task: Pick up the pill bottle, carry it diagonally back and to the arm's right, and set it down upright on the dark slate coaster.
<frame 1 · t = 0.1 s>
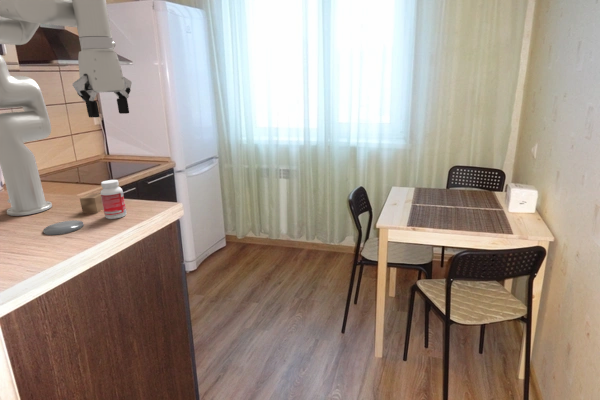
hand: (109, 115, 106), 31 cm above the countertop, fingers open, 9 cm apart
light brown wooden block: (94, 210, 131), on the countertop
pill bottle: (116, 216, 124), on the countertop
coaster: (64, 228, 115), on the countertop
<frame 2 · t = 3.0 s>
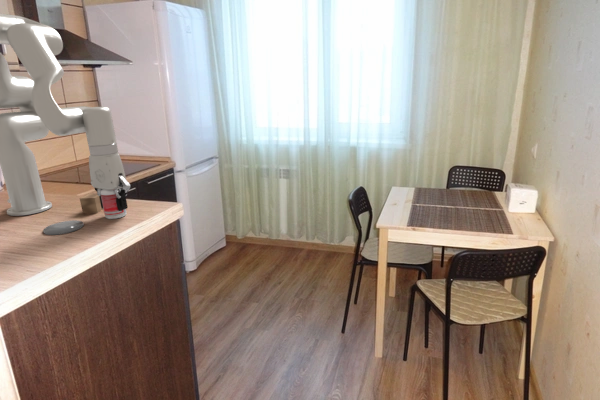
hand: (114, 207, 123), 3 cm above the countertop, fingers closed on pill bottle, 6 cm apart
pill bottle: (116, 216, 124), on the countertop, touching gripper
everything else where it was.
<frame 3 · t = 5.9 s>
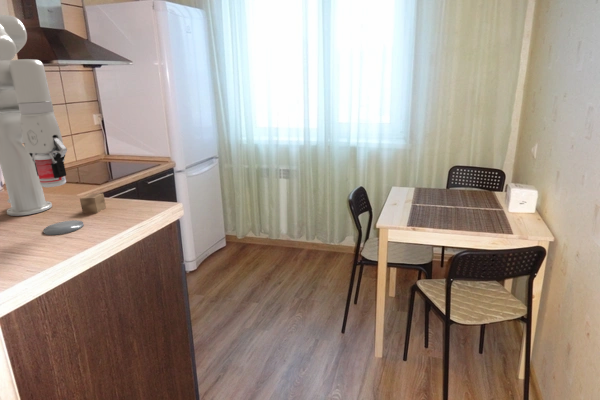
hand: (52, 175, 111), 16 cm above the countertop, fingers closed on pill bottle, 6 cm apart
pill bottle: (54, 185, 111), point 13 cm above the countertop, touching gripper
everything else where it was.
when the fingers open (4 cm above the countertop, at t = 8.7 s): pill bottle stays where it is, resting on coaster.
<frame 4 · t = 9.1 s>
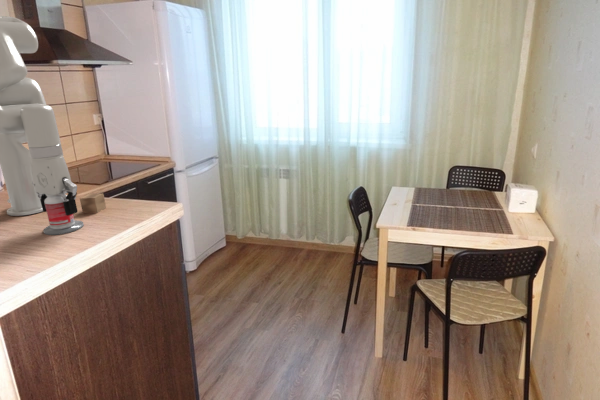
hand: (60, 212, 114), 5 cm above the countertop, fingers open, 9 cm apart
pill bottle: (63, 226, 115), resting on coaster
everything else where it was.
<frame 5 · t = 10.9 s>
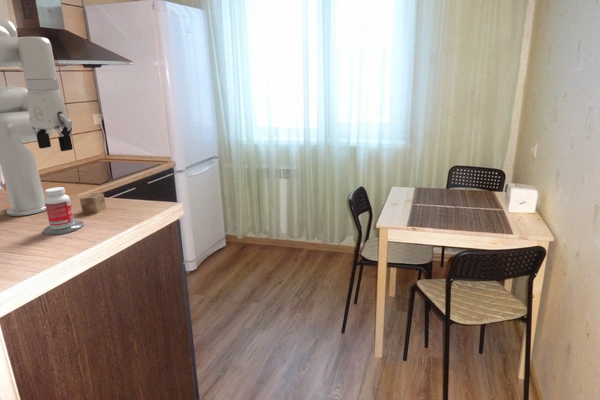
hand: (55, 149, 114), 22 cm above the countertop, fingers open, 9 cm apart
nothing on the countertop moved.
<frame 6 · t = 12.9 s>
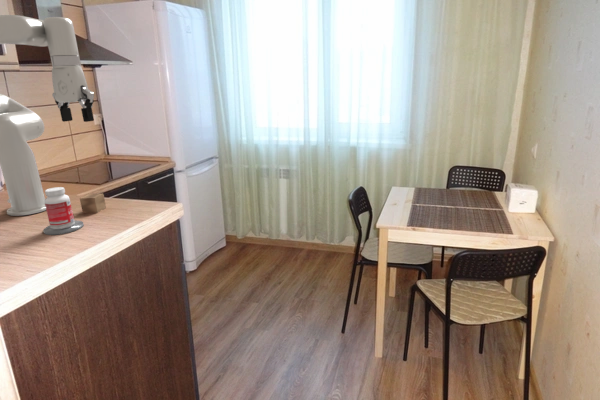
hand: (78, 121, 125), 28 cm above the countertop, fingers open, 9 cm apart
nothing on the countertop moved.
at the end: pill bottle 0.3 cm from the coaster (horizontally); pill bottle tilted 0°; pill bottle resting on coaster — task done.
